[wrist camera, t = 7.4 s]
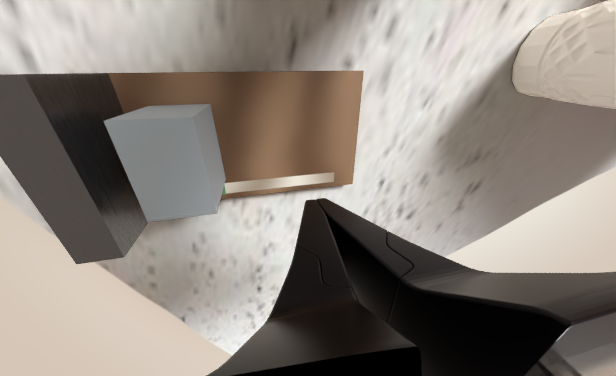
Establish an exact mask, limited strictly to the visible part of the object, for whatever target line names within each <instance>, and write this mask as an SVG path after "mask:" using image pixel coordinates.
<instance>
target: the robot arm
mask: <svg viewBox="0 0 616 376" xmlns="http://www.w3.org/2000/svg"><path fill="white" fill-rule="evenodd" d="M207 376H616V272H605V273H490V272H483V271H478V270H475V269H471V268H468V267H466V266H463V265H461V264H459V263H456V262H454V261H452V260H449V259H447V258H445V257H442V256H440V255H438V254H435V253H433V252H431V251H429V250H426V249H424V248H422V247H420V246H417V245H415V244H413V243H411V242H409V241H407V240H405V239H403V238H401V237H399V236H397V235H395V234H393V233H391V232H389V231H388V232H387V230H385V229H383V228H381V227H379V226H377V225H375V224H373V223H372V222H370V221H368V220H366V219H364V218H362V217H360V216H358V215H356V214H354V213H352V212H350V211H349V210H347V209H345V208H343V207H341V206H339V205H337V204H335V203H333V202H331V201H329V200H327V199H325V198H322V199H316V200H307V201H306V202H305V206H304V211H303V216H302V220H301V225H300V230H299V234H298V239H297V243H296V247H295V252H294V256H293V260H292V263H291V266H290V269H289V272H288V274H287V277H286V279H285V282H284V284H283V286H282V289H281V291H280V293H279V296H278V298H277V301H276V303H275V305H274V307H273V310H272V312H271V314H270V316H269V318H268V319H267V321H266V322H265V324H264V325H263V326H262V327H261V328H260V329H259V330H258V331H257V332H256V333H255V334H254V335H253V336H252V337H251V338H250V339H249V340H248V341H247V342H246V343H245V344H244V345H243V346H242V347H241V348H240V349H239V350H238V351H237V352H236V353H235V354H234V355H233V356H232V357H231V358H230V359H229V360H228V361H227V362H226V363H224V364H223V365H222V366H221V367H219V368H218V369H217V370H215V371H213V372H212V373H210V374H209V375H207Z"/></svg>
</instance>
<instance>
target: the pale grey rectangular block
mask: <svg viewBox="0 0 616 376" xmlns="http://www.w3.org/2000/svg"><path fill="white" fill-rule="evenodd" d="M104 124H105V126H106V128H107V130H108V133H109V135H110V137H111V140H112V142H113V144H114V146H115V149H116V151H117V153H118V156H119V158H120V160H121V162H122V165H123V167H124V169H125V172H126V174H127V176H128V178H129V181H130V183H131V185H132V188H133V190H134V192H135V194H136V197H137V199H138V201H139V204H140V206H141V208H142V210H143V213H144V215H145V217H146V220H147V222H153V221H161V220H169V219H177V218H185V217H193V216H201V215H209V214H217V212H218V208H219V204H220V200H221V196H222V192H223V188H224V184H225V180H226V177H225V172H224V168H223V163H222V158H221V153H220V148H219V143H218V138H217V133H216V129H215V124H214V119H213V114H212V109H211V104H188V105H159V106H147V107H144V108H141V109H138V110H135V111H132V112H129V113H126V114H123V115H120V116H117V117H114V118H111V119H108V120H105V121H104Z"/></svg>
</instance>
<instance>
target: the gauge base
mask: <svg viewBox="0 0 616 376" xmlns="http://www.w3.org/2000/svg"><path fill="white" fill-rule="evenodd" d="M85 74H89V73H85ZM108 74H109V76H110V79H111V81H112V84H113V86H114V89H115V92H116V94H117V97H118V99H119V102H120V104H121V107H122V110H123V112H124V114H126V113H129V112H132V111H135V110H138V109H141V108H144V107H147V106H159V105H188V104H211V109H212V114H213V119H214V124H215V129H216V133H217V138H218V143H219V148H220V153H221V158H222V163H223V168H224V172H225V177H226V180H225V184H224V188H223V192H222V196H221V199H224V198H232V197H241V196H250V195H259V194H268V193H277V192H286V191H294V190H303V189H312V188H321V187H330V186H339V185H348V184H352V183H353V173H354V163H355V153H356V142H357V132H358V122H359V112H360V102H361V91H362V81H363V71H286V72H186V73H108Z"/></svg>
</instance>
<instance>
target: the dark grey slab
mask: <svg viewBox="0 0 616 376" xmlns="http://www.w3.org/2000/svg"><path fill="white" fill-rule="evenodd" d="M123 114H124V112H123V110H122V107H121V104H120V102H119V99H118V97H117V94H116V92H115V89H114V86H113V84H112V81H111V79H110V76H109V74H108V73H89V74H6V75H0V156H1V158H2V159H3V161H4V162H5V164H6V165H7V166H8V168H9V169H10V171H11V172H12V173H13V175H14V176H15V178H16V179H17V181H18V182H19V183H20V185H21V186H22V188H23V189H24V190H25V192H26V193H27V195H28V196H29V198H30V199H31V200H32V202H33V203H34V205H35V206H36V207H37V209H38V210H39V212H40V213H41V215H42V216H43V217H44V219H45V220H46V222H47V223H48V224H49V226H50V227H51V229H52V230H53V232H54V233H55V234H56V236H57V237H58V239H59V240H60V241H61V243H62V244H63V246H64V247H65V249H66V250H67V251H68V253H69V254H70V255H71V257H72V258H73V260H74V261H75V263H76V264H81V263H88V262H95V261H102V260H108V259H115V258H122V257H125V255H126V254H127V252H128V251H129V249H130V248H131V247H132V245H133V244H134V242H135V241H136V239H137V238H138V236H139V235H140V234H141V232H142V231H143V229H144V228H145V226H146V225H147V223H148V222H147V220H146V217H145V215H144V213H143V210H142V208H141V206H140V204H139V201H138V199H137V197H136V194H135V192H134V190H133V188H132V185H131V183H130V181H129V178H128V176H127V174H126V172H125V169H124V167H123V165H122V162H121V160H120V158H119V156H118V153H117V151H116V149H115V146H114V144H113V142H112V140H111V137H110V135H109V133H108V130H107V128H106V126H105V124H104V121H105V120H108V119H111V118H114V117H117V116H120V115H123Z"/></svg>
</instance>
